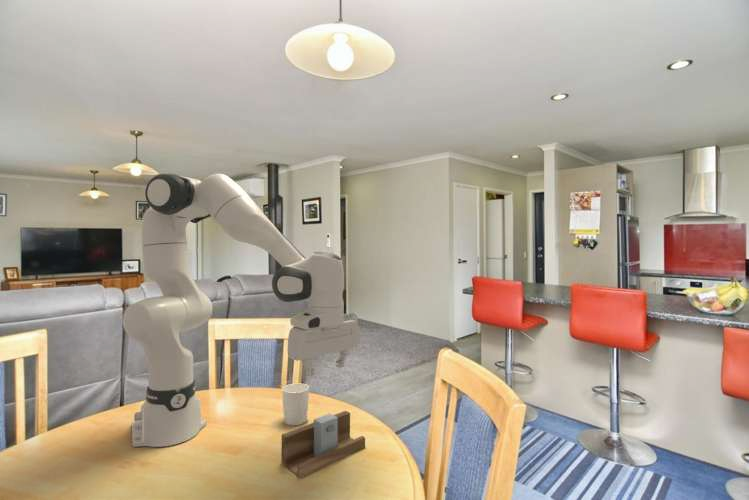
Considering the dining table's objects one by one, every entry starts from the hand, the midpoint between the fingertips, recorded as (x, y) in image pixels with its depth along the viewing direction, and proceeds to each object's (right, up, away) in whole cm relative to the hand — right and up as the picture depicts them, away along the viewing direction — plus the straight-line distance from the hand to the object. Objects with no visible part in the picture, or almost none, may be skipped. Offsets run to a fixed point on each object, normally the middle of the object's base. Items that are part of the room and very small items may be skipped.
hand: (325, 370), depth 98 cm
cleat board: (0, -21, 0) cm, 21 cm away
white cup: (-11, -21, +19) cm, 31 cm away
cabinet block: (0, -21, 0) cm, 21 cm away
